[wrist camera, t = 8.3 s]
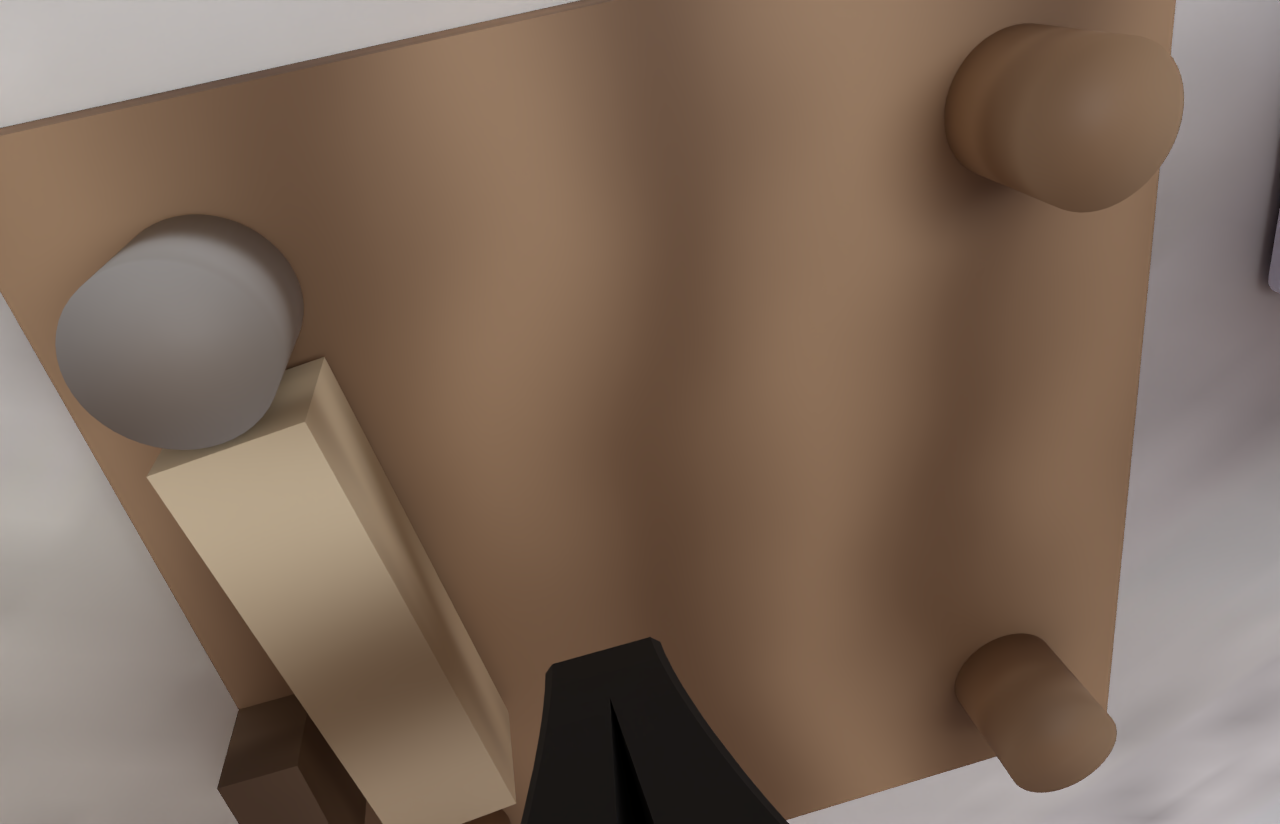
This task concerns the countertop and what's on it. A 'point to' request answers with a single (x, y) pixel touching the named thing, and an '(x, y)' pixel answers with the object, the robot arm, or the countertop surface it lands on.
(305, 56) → the countertop surface
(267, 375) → the long beige beam
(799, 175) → the brown wooden flat board
